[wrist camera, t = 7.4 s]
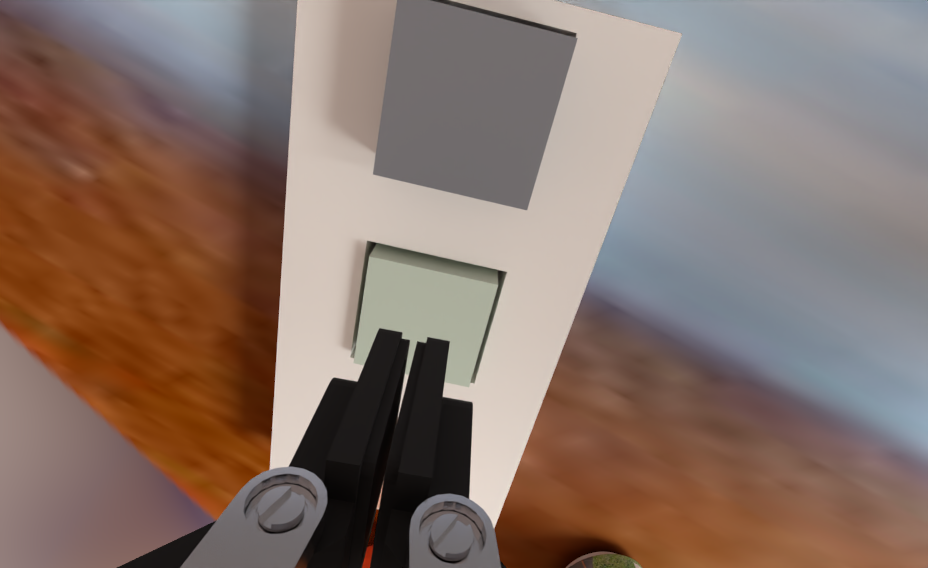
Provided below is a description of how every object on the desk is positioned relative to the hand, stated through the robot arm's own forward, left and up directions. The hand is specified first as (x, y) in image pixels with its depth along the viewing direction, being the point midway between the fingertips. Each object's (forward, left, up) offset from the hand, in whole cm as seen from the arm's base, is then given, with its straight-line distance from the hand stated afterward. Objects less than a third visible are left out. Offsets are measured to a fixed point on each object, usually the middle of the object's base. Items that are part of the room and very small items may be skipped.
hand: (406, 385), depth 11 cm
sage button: (0, +3, -10) cm, 11 cm away
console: (0, +3, -11) cm, 11 cm away
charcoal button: (0, -6, -9) cm, 10 cm away
